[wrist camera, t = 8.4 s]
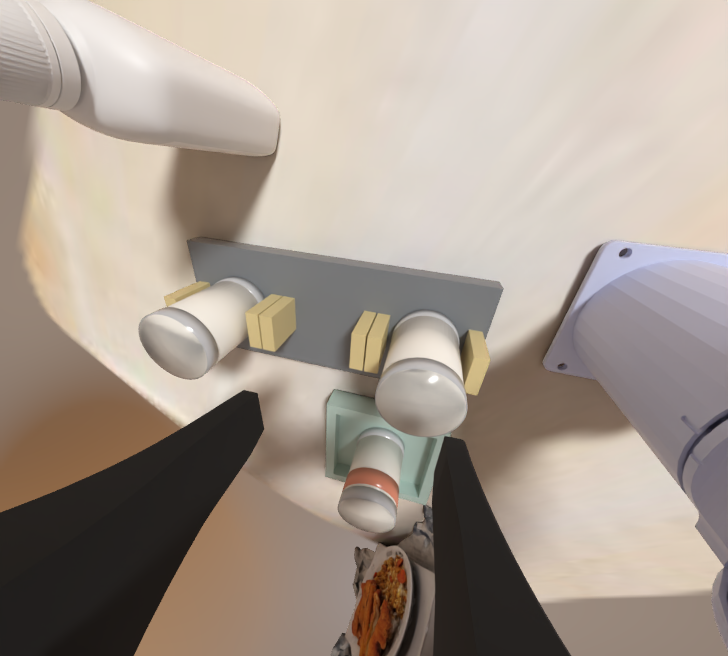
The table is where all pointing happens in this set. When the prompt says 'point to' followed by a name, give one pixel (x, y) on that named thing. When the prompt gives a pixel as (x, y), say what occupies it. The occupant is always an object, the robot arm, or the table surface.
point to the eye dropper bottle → (128, 80)
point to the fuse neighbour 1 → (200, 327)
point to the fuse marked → (373, 481)
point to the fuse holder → (343, 305)
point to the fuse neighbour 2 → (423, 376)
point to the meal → (394, 598)
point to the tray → (361, 413)
